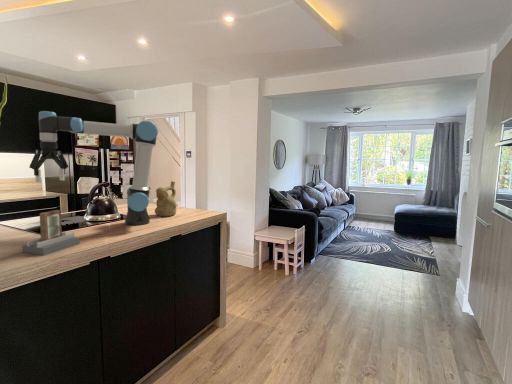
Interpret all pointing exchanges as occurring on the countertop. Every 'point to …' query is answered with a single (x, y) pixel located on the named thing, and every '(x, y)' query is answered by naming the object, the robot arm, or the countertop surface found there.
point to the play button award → (72, 220)
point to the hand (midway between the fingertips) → (50, 181)
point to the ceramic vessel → (166, 201)
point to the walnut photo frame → (50, 225)
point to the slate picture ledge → (50, 244)
